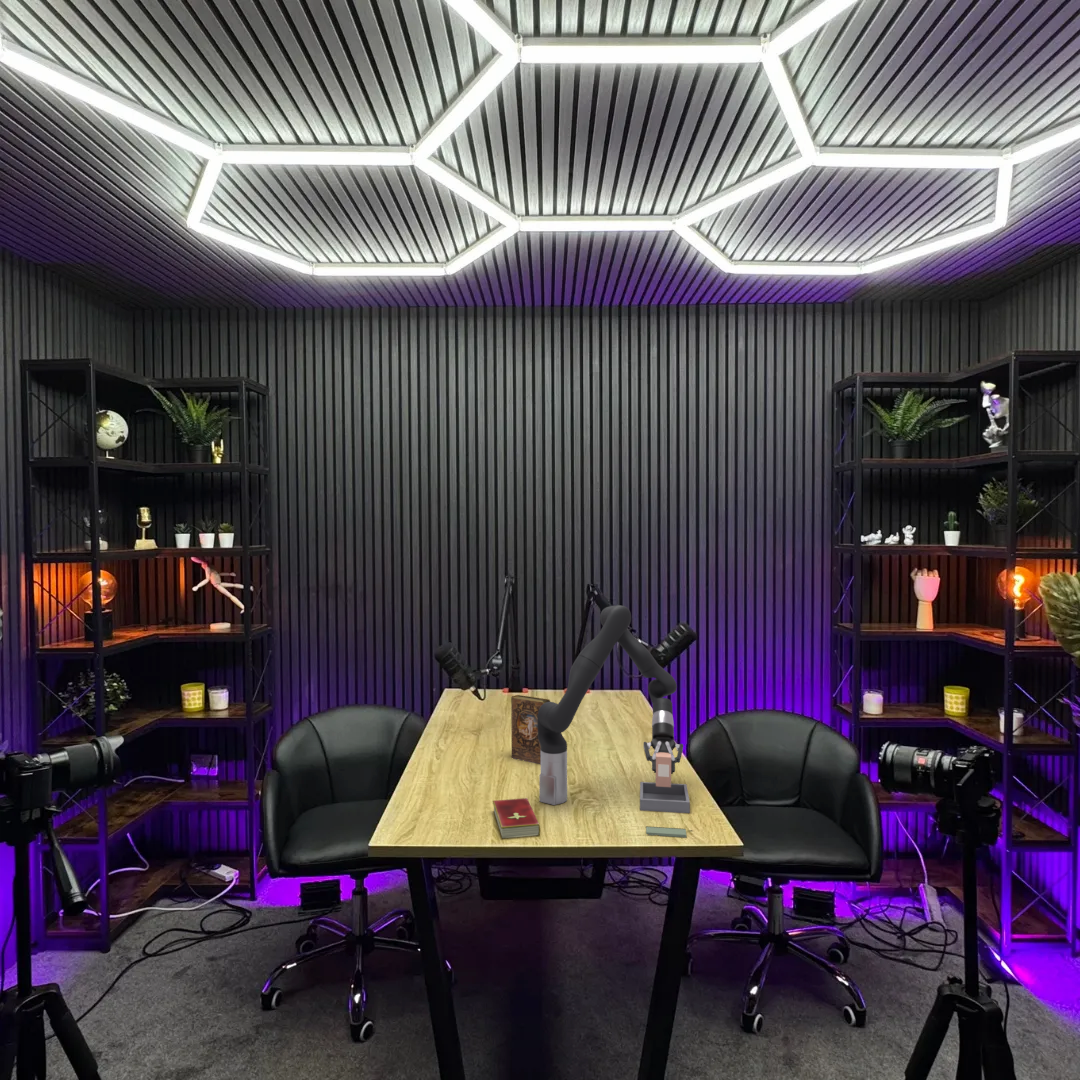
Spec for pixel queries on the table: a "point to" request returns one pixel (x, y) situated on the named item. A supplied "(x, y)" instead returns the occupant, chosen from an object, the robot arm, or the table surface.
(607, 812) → the table surface
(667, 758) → the labelled box
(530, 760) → the book
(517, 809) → the hardcover book
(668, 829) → the grey-green flat plate
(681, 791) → the parts bin
